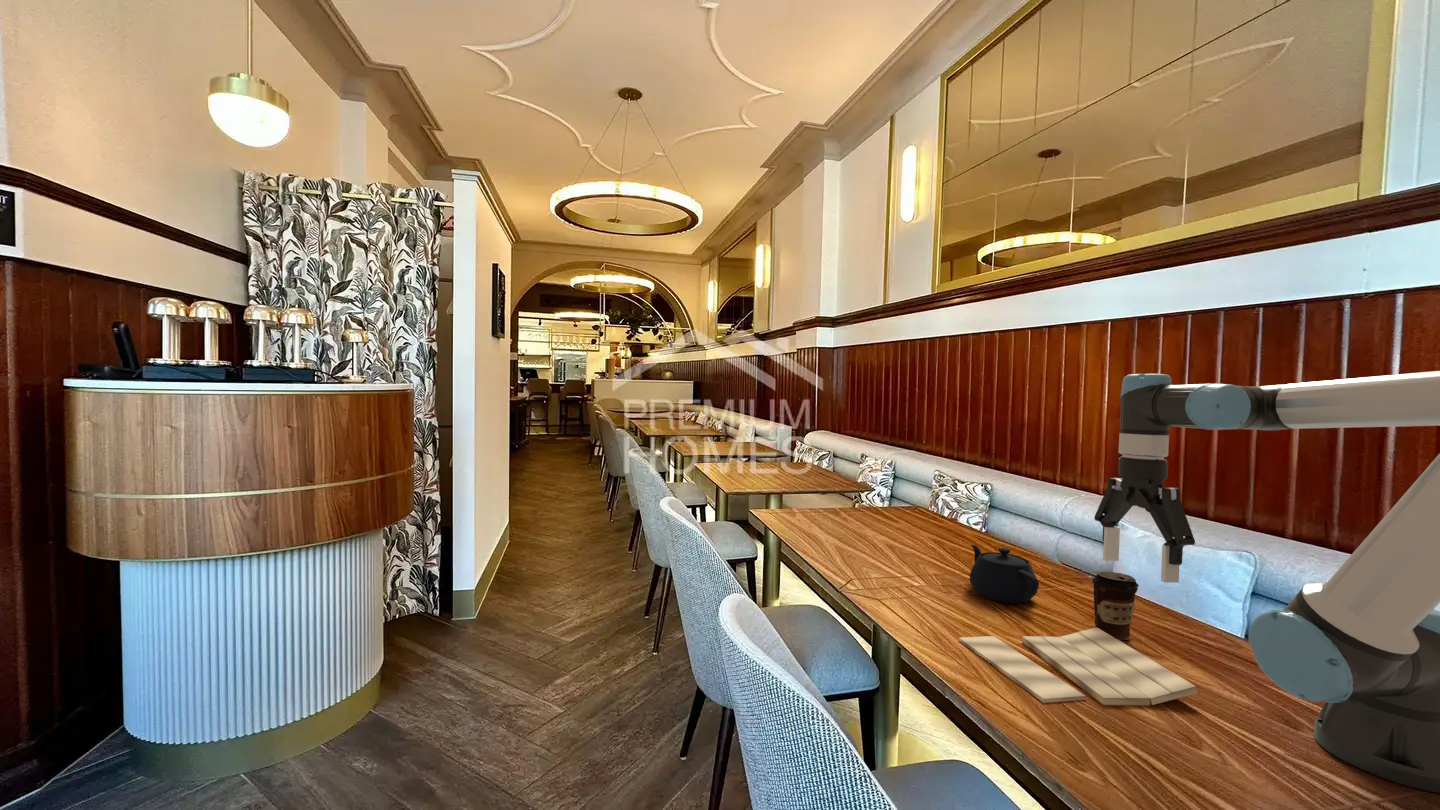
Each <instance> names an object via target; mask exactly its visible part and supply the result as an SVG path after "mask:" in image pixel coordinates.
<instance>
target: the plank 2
mask: <svg viewBox="0 0 1440 810" xmlns="http://www.w3.org/2000/svg"><path fill="white" fill-rule="evenodd" d="M1060 637H1061V638H1062V639H1064V640H1065V641H1067V642H1068V643H1070V644H1071V645H1073V646H1074V647H1076V648H1077V649H1079V650H1080V651H1082V652H1083V653H1085V654H1086V655H1087V656H1089V657H1090V658H1092V659H1093V660H1095V661H1096V662H1098V663H1099V664H1101V665H1102V666H1104V667H1105V668H1107V669H1108V670H1110V671H1111V672H1112V673H1114V674H1115V675H1117V676H1118V677H1120V678H1121V679H1123V680H1124V681H1126V682H1127V683H1129V684H1130V685H1132V686H1133V687H1135V688H1136V689H1137V690H1139V691H1140V692H1142V693H1143V694H1145V695H1146V696H1148V697H1149V698H1150V706H1154V705H1157V704H1162V703H1166V702H1168V701H1173V700H1176V699H1180V698H1183V697H1187V696H1191V695H1195V694H1198V689H1197V685H1195V684H1193V683H1192V682H1189V681H1188V680H1186V679H1184V678H1183V677H1181V676H1179V675H1177V674H1176V673H1174V672H1173V671H1171V670H1170V669H1167V667H1164V666H1163V665H1161V664H1159V663H1158V662H1156V661H1154V660H1153V659H1151V658H1149V657H1147V655H1144V654H1143V653H1141V652H1139V651H1137V650H1136V649H1134V648H1132V647H1131V646H1130V645H1128V644H1125V643H1124V642H1123V641H1122V640H1117V639H1116V638H1114V637H1112V636H1111V635H1109V634H1107V633H1106V632H1104V631H1102V630H1100V629H1099V628H1097V627H1096V628H1095V627H1092V628H1088V629H1083V630H1081V631H1080V630H1078V631H1077V632H1074V633H1070V634H1065V635H1062V636H1061V635H1060Z"/></svg>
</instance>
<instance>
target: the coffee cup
mask: <svg viewBox="0 0 1440 810" xmlns="http://www.w3.org/2000/svg"><path fill="white" fill-rule="evenodd" d="M1091 582H1092V584H1093V585H1092V586H1093V609H1094V610H1093V611H1094V613H1093V614H1094V626H1095V627H1094V628H1096V627H1097V628H1099V629H1100V630H1102V631H1104V632H1106V633H1107V634H1109V635H1111V636H1112V637H1114V638H1116V639H1117V640H1119V641H1127V640H1130V639H1132V638H1131V633H1130V631H1131V629H1130V626H1131V625H1132V621H1133V620H1132V619H1133V616H1134V613H1135V606H1136V604H1135V598H1136V593H1137V592H1138V590H1139V589H1138V587H1139V584H1138V583H1137V582H1136V579H1135V578H1134V577H1133V576H1131V575H1129V574H1126V573H1125V574H1124V573H1120V572H1114V571H1101V572H1097V573H1096V576H1094V577H1093V578H1092V581H1091Z"/></svg>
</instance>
